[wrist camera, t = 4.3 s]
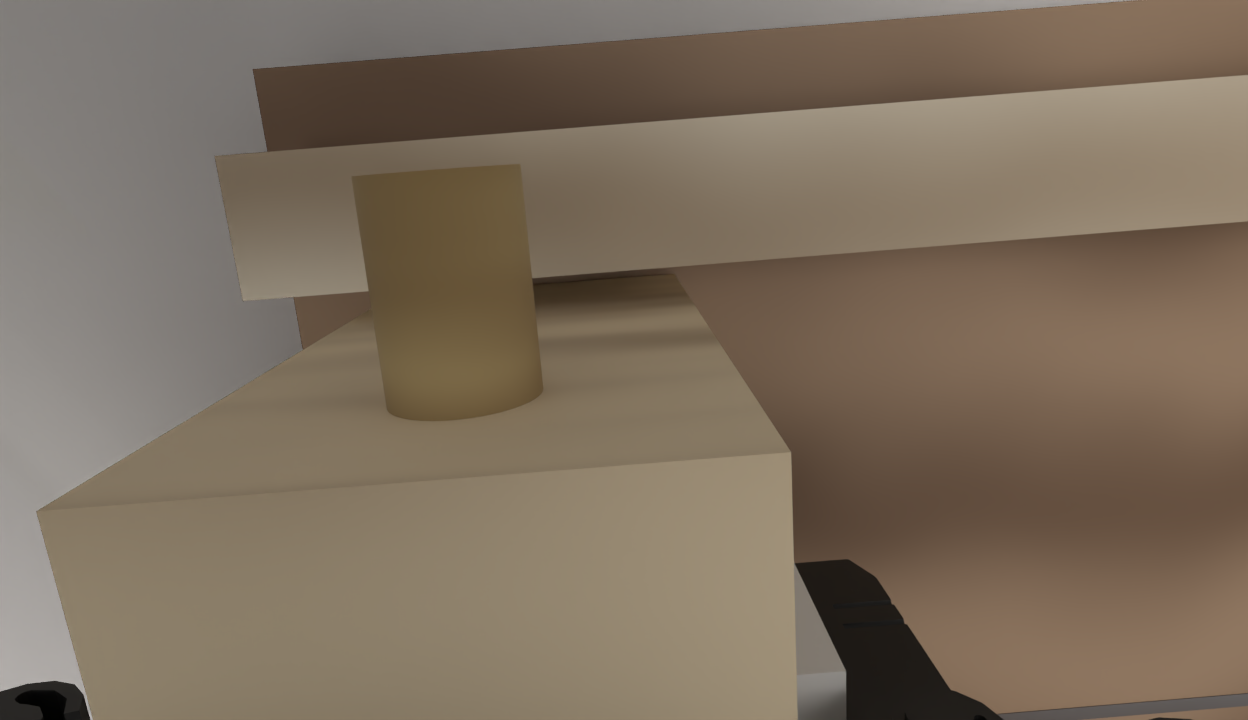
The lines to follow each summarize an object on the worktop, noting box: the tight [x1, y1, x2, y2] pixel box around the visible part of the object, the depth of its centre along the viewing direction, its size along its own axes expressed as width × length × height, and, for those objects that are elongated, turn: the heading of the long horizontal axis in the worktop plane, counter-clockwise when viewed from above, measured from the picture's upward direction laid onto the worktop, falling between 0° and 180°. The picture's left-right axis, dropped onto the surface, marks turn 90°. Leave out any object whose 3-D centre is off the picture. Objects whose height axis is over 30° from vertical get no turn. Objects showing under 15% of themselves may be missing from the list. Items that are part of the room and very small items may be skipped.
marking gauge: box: [36, 164, 798, 720], centre depth 11 cm, size 12×5×9 cm, turn 4°
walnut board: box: [215, 0, 1248, 720], centre depth 15 cm, size 17×25×5 cm
